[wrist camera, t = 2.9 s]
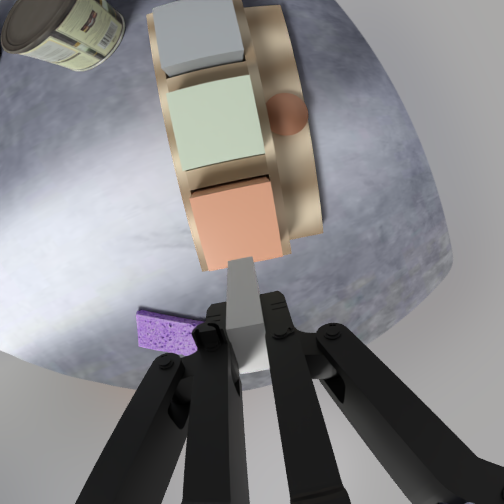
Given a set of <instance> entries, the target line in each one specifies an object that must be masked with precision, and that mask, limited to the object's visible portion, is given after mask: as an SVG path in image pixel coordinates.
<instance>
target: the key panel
mask: <svg viewBox="0 0 504 504" xmlns="http://www.w3.org/2000/svg"><path fill="white" fill-rule="evenodd" d="M232 2H233V6H234V10H235V14H236V18H237V22H238V26H239V31H240V35H241V39H242V43H243V48H244V53H243V60H242V62H238V63H232V64H227V65H221V66H216V67H212V68H207V69H202V70H198V71H194V72H190V73H186V74H182V75H179V76H175V77H172V78H170V77H169V76H168V75H167V74H166V73H165V72H164V71H163V70H162V69H161V63H160V57H159V51H158V45H157V39H156V32H155V25H154V18H153V13H150V14H147V23H148V31H149V38H150V44H151V51H152V57H153V63H154V69H155V75H156V81H157V86H158V92H159V97H160V102H161V107H162V112H163V117H164V122H165V127H166V132H167V136H168V141H169V145H170V150H171V154H172V159H173V163H174V167H175V171H176V176H177V180H178V184H179V188H180V192H181V196H182V200H183V204H184V207H185V211H186V215H187V219H188V223H189V226H190V230H191V234H192V237H193V241H194V244H195V248H196V251H197V255H198V258H199V262H200V265H201V268H202V272H203V271H208V266H207V263H206V259H205V256H204V252H203V249H202V245H201V241H200V238H199V234H198V230H197V226H196V223H195V219H194V215H193V211H192V207H191V203H190V197H191V196H192V194H193V193H194V192H195V190H196V189H200V188H204V187H208V186H213V185H217V184H222V183H227V182H231V181H236V180H241V179H246V178H251V177H256V176H262V175H265V176H266V177H267V178H268V180H269V181H270V182H271V187H272V193H273V198H274V204H275V210H276V216H277V222H278V228H279V234H280V240H281V247H282V253H283V255H287V254H291V247H290V240H291V239H296V238H301V237H306V236H311V235H316V234H321V233H323V225H322V215H321V207H320V198H319V190H318V182H317V175H316V168H315V161H314V155H313V148H312V142H311V136H310V130H309V125H308V109H307V107H306V105H305V103H304V98H303V94H302V89H301V84H300V79H299V75H298V71H297V66H296V62H295V58H294V54H293V50H292V46H291V42H290V38H289V34H288V30H287V27H286V23H285V20H284V16H283V13H282V9H281V6H280V5H270V6H257V7H247V8H244V7H243V3H242V0H232ZM245 75H250V79H251V84H252V89H253V93H254V98H255V103H256V108H257V113H258V118H259V123H260V128H261V133H262V138H263V143H264V149H265V153H264V154H259V155H253V156H248V157H243V158H238V159H233V160H228V161H223V162H219V163H214V164H210V165H205V166H201V167H197V168H193V169H189V170H185V171H182V166H181V162H180V158H179V153H178V149H177V144H176V140H175V135H174V130H173V126H172V121H171V116H170V111H169V106H168V101H167V96H166V93H169V92H173V91H176V90H180V89H184V88H187V87H191V86H195V85H199V84H204V83H208V82H213V81H217V80H222V79H227V78H233V77H239V76H245Z"/></svg>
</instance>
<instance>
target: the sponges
mask: <svg viewBox="0 0 504 504" xmlns="http://www.w3.org/2000/svg"><path fill="white" fill-rule="evenodd" d="M136 319H137V328H138V342H139V347H144V348H150V349H154V350H159V351H164V352H165V351H167V352H169V353H175V354H183V355H185V356H188V355H191V354H193V353H194V352H196V351H197V346H196V344H195V342H194V339H193V337H192V334H191V333H192V330H193V329H194V328H195V327H196V326H197V325H199V324H201V323H204V322H203V321H198V320H192V319H185V318H178V317H175V316H170V315H164V314H159V313H154V312H149V311H145V310H141V311H137V313H136Z"/></svg>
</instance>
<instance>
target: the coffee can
mask: <svg viewBox="0 0 504 504" xmlns="http://www.w3.org/2000/svg"><path fill="white" fill-rule="evenodd" d="M124 30H125V22H124V19H123V17H122V15H121V14H120V13H119V12H117V11H116V10H115V9H114V8H113V7H112V6H111V5H110V4H109V3H108V2H107V1H106V0H17V1H16V3H15V4H14V6H13V7H12V9H11V10H10V12H9V14H8V16H7V18H6V20H5V22H4V25H3V28H2V33H1V45H2V48H3V49H4V50H5V51H6V52H7V53H11V54H21V55H25V56H29V57H33V58H37V59H40V60H44V61H47V62H51V63H54V64H57V65H60V66H64V67H67V68H69V69H71V70H74V71H86V70H89V69H92V68H94V67H96V66H98V65H100V64H101V63H103V62H104V61H105V60H106V59H108V58H109V57H110V56H111V55H112V54H113V53H114V51H115V50H116V48H117V47H118V45H119V44H120V42H121V40H122V38H123V35H124Z"/></svg>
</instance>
